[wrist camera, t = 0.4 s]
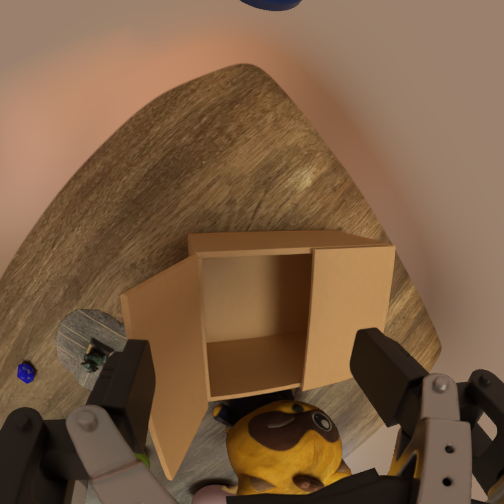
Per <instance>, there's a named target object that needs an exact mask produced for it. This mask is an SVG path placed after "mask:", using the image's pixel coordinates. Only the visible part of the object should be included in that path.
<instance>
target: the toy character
mask: <svg viewBox="0 0 504 504" xmlns="http://www.w3.org/2000/svg"><path fill="white" fill-rule="evenodd" d="M295 391H296V388H291V389H286V390H281V391H276V392H271V393H265V394H260V395H254V396H247V397H241V398H234V399H229V403H228V406H226V405H224V404H222V403H221V404H219V405H217V406H216V407H215V408H214V409H213V416H214V419H215V420H217V421H219V422H221V423H223V424H225V425H227V427H226V428H225V430H224V433H227V438H226V447H227V452H228V456H229V460H230V463H231V465H232V468H233V469H234V472H235V473H236V475H237V477H238V484H237V485H236V486H235V487H233V488H229V487H227V485H224V486H223V487H222V486H220V488H221V489H222V490H224V491H225V492H228V493H231V494H236V496H238V495H251V494H261V493H275V494H309V493H310V492H315V491H317V490H319V489H321V488H323V487H325V486H327V485H329V484H331V483H333V482H335V481H337V480H339V479H341V478H343V477H347V476H350V475H352V474H351V470H350V468H349V467H348V466H347V465H346V464H345V462H344V460H343V459H342V443H341V439H340V435H339V433H338V430H337V428H336V426H335V424H334V423H333V421H332V420H331V419H330V418H329V416H328V415H327V414H326V413H325V412H324V411H322V410H320V409H319V408H317V407H315V406H313V405H310V404H307V403H304V402H299V401H294V395H295Z"/></svg>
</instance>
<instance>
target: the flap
mask: <svg viewBox="0 0 504 504" xmlns="http://www.w3.org/2000/svg"><path fill="white" fill-rule="evenodd" d="M120 298H121V306H122V312H123V319H124V325H125V331H126V336H127V340H128V339H141V340H148V341H149V343H150V348H151V353H152V359H153V364H154V369H155V375H156V387H155V393H154V398H153V403H152V408H151V414H150V419H149V425H148V427H149V430H150V433H151V436H152V439H153V442H154V445H155V448H156V451H157V454H158V457H159V459H160V462H161V465H162V467H163V470H164V473H165V475H166V478H167V479H168V480H173V479H174V477H175V475H176V473H177V471H178V468H179V466H180V464H181V462H182V460H183V458H184V456H185V454H186V452H187V450H188V448H189V446H190V444H191V442H192V440H193V438H194V436H195V434H196V432H197V430H198V428H199V425H200V423H201V421H202V419H203V417H204V415H205V413H206V411H207V409H208V399H207V390H206V380H205V369H204V357H203V344H202V330H201V315H200V297H199V275H198V255H191V256H190V257H188V258H186V259H184V260H182V261H180V262H179V263H177V264H175V265H173V266H171V267H169V268H168V269H166V270H164V271H162V272H160V273H158V274H157V275H155V276H153V277H151V278H149V279H148V280H146V281H144V282H142V283H141V284H139V285H137V286H135V287H133V288H132V289H130V290H128V291H126V292H125V293H123V294H121V295H120Z"/></svg>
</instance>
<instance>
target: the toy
mask: <svg viewBox="0 0 504 504" xmlns="http://www.w3.org/2000/svg"><path fill="white" fill-rule="evenodd" d="M220 486H222V485H208V486H205V487H203V488H201V489H200V490H199V491H197V493H196V494H195V495H194V497H193V499H192V502H191V504H227V503H226V496H236V494H231V493H228V492H225V491H224V490H222V489H221V488H220ZM222 487H223V486H222ZM228 487H229V488H233V486H228Z"/></svg>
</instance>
